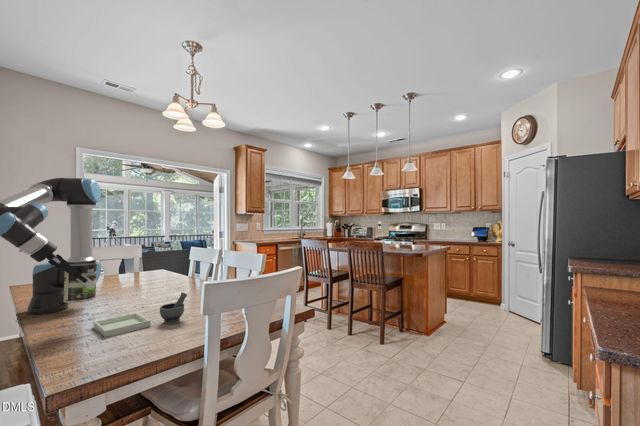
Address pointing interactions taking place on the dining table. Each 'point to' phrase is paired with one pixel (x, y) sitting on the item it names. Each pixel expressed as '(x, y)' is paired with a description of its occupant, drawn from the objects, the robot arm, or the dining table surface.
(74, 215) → the robot arm
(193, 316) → the dining table surface
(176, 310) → the mortar and pestle
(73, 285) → the coffee can
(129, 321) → the tray
